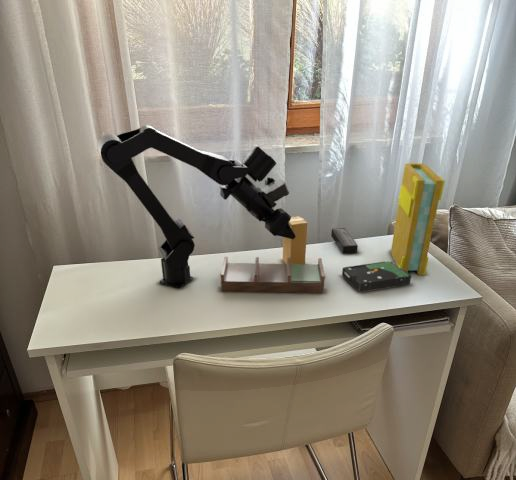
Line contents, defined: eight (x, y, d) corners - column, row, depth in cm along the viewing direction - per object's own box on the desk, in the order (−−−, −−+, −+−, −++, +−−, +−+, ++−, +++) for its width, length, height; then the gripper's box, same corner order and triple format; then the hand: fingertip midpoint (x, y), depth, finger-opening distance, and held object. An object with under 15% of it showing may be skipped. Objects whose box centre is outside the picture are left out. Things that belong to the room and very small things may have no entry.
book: (425, 274, 134) (444, 180, 120) (400, 274, 134) (417, 180, 120) (410, 249, 148) (426, 163, 134) (387, 249, 148) (401, 162, 134)
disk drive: (359, 294, 125) (410, 285, 129) (360, 284, 123) (412, 275, 127) (341, 276, 133) (389, 268, 137) (341, 267, 132) (391, 259, 135)
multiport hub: (342, 253, 146) (343, 246, 144) (330, 235, 158) (331, 228, 156) (357, 252, 146) (358, 245, 145) (344, 234, 158) (345, 227, 157)
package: (289, 268, 137) (291, 224, 130) (282, 260, 142) (283, 217, 135) (304, 265, 139) (307, 222, 132) (296, 258, 143) (299, 215, 136)
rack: (221, 291, 125) (220, 274, 123) (225, 273, 135) (224, 256, 132) (323, 293, 125) (324, 276, 122) (320, 274, 134) (321, 258, 131)
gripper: (284, 179, 116) (323, 220, 125) (257, 161, 131) (294, 198, 140) (253, 216, 118) (293, 253, 127) (229, 194, 133) (267, 228, 142)
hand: (287, 231), depth 134 cm, fingers open, 9 cm apart
